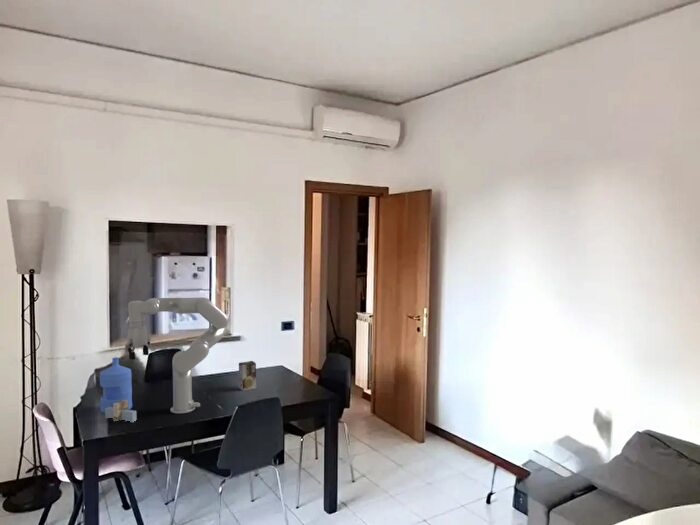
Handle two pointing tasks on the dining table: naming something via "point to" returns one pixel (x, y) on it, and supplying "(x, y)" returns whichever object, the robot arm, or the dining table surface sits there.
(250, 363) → the coffee box
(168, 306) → the robot arm
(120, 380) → the water jug
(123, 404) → the notched wooden block
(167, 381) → the dining table surface
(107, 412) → the plain gray rectangular bar
